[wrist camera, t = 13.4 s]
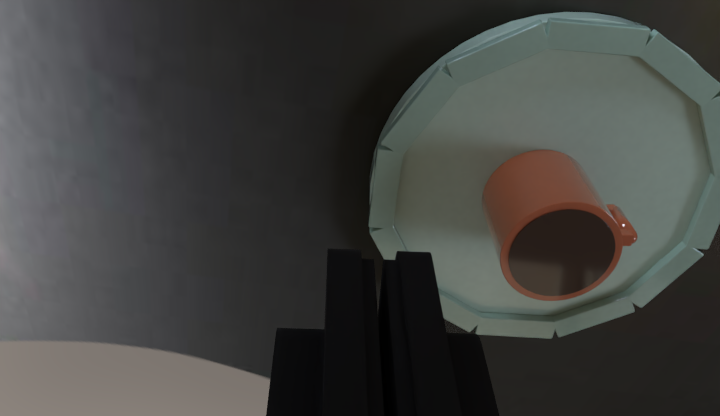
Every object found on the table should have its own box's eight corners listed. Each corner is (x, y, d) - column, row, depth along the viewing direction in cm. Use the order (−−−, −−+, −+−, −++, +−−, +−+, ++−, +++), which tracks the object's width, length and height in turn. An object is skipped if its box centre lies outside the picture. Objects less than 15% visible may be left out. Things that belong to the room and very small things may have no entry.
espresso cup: (476, 241, 40) (493, 302, 35) (487, 149, 37) (508, 203, 32) (601, 241, 40) (635, 301, 35) (623, 149, 37) (663, 202, 32)
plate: (301, 223, 40) (299, 241, 39) (535, -74, 32) (544, -66, 30) (549, 362, 47) (556, 382, 45) (798, 146, 38) (816, 161, 37)
